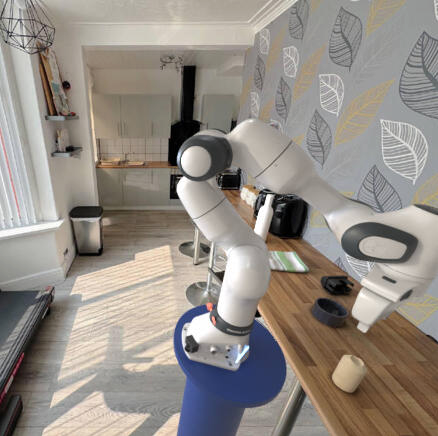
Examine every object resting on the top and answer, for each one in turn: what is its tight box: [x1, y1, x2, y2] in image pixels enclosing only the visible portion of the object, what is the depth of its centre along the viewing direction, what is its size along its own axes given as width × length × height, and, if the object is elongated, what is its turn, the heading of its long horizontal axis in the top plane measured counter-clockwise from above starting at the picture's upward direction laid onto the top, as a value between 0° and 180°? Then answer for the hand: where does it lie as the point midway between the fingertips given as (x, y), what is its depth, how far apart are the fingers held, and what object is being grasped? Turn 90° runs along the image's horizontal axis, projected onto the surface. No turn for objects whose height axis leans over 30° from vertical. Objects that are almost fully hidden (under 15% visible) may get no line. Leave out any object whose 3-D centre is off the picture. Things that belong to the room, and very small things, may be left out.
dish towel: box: [268, 249, 310, 274], centre depth 126 cm, size 17×23×4 cm
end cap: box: [320, 274, 355, 296], centre depth 106 cm, size 10×7×7 cm
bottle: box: [253, 193, 275, 243], centre depth 143 cm, size 8×8×30 cm
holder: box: [311, 297, 349, 328], centre depth 91 cm, size 10×10×5 cm
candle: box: [331, 354, 368, 394], centre depth 67 cm, size 6×6×10 cm
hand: (372, 323), depth 57 cm, fingers open, 8 cm apart
